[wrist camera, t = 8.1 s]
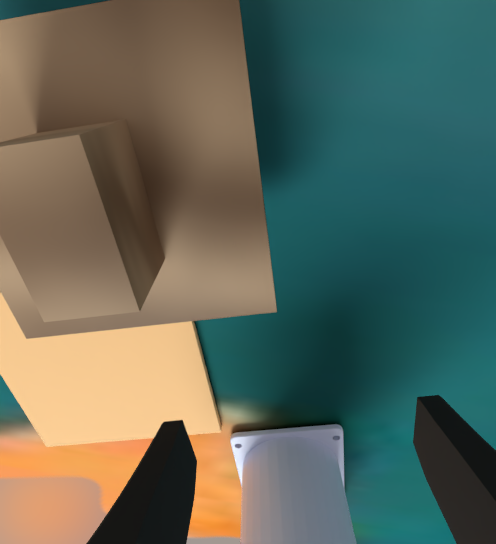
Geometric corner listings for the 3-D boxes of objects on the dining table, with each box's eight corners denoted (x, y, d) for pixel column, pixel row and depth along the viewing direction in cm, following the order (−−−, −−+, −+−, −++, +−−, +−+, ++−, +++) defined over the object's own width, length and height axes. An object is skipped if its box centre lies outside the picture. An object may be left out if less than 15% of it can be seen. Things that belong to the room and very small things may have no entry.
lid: (275, 298, 16) (283, 373, 12) (38, 325, 17) (-29, 402, 13) (237, -15, 11) (228, -70, 7) (-106, 47, 11) (-297, 31, 7)
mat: (221, 426, 26) (221, 432, 25) (49, 440, 27) (46, 446, 26) (180, 267, 20) (178, 271, 19) (-41, 293, 21) (-48, 298, 20)
